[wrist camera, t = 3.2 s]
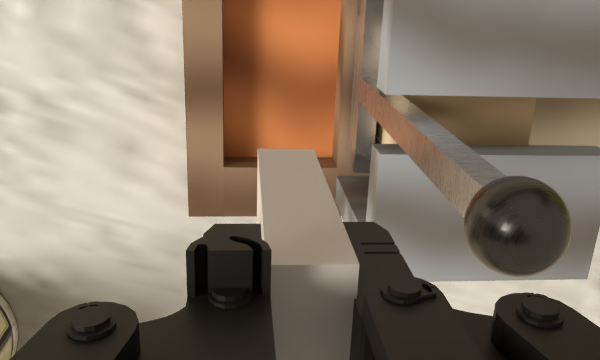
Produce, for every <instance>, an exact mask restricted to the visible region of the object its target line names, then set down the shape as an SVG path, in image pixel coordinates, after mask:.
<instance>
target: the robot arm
mask: <svg viewBox="0 0 600 360" xmlns="http://www.w3.org/2000/svg"><path fill="white" fill-rule="evenodd" d="M186 268H187V303H186V307H184V308H183V309H181V310H180V311H178V312H176V313H174V314H172V315H169V316H167V317H164V318H160V319H157V320H153V321H148V322H143V323H139V321H138V318H137V316H136V313H135V312H134V311H133V310H131V309H130V308H129V307H127V306H125V305H121V304H117V303H113V302H89V303H88V304H87V303H84V304H80V305H77V306H75V307H72V308H70V309H67V310H65V311H62V312H60V313H59V314H58V315H56V316H55V317H53V318H52V319H51V320H49V321H48V322H47V323H46V324H45V325H44V326H43V327H42V328H41V329H40V330H39V331H38V332H37V333H36V334H35V335H34V336H33V337H32V338H31V339H30V340H29V341H28V342H27V343H26V344H25V345H24V346H23V347H22V348H21V349H20V350H19V351H18V352H17V353H16V354H15V355H14V356H13V357H12V358H11V359H10V360H600V327H598V326H597V325H595V324H594V323H592V322H591V321H590V320H588V319H587V318H585V317H584V316H583V315H581V314H580V313H578V312H577V311H575V310H574V309H573V308H571V307H569V306H567V305H565V304H563V303H562V302H560V301H557V300H554V299H551V298H548V297H547V296H545V295H541V294H534V293H514V294H509V295H506V296H503V297H501V298H500V299H499V300H498V301H497V302H496V303H495V309H494V315H493V316H487V315H481V314H475V313H469V312H464V311H460V310H455V309H452V307H451V306H450V304H449V302H448V301H447V299H446V298H445V296H444V294H443V293H442V292H441V291H440V290H439V289H438V288H437V287H436V286H435V285H433V284H431V283H429V282H427V281H425V280H424V279H420V278H416V277H414V276H413V274H412V272H411V270H410V269H409V267H408V265H407V263H406V261H405V260H404V258H403V256H402V254H400V251H399V249H398V247H397V246H396V245H395V242H394V240H393V238H392V237H391V235H390V233H389V231H387V230H386V229H384V228H383V227H381V226H380V225H378V224H377V223H375V222H342V219H341V217H340V214H339V212H338V209H337V207H336V204H335V202H334V199H333V197H332V194H331V191H330V189H329V186H328V184H327V181H326V179H325V176H324V174H323V171H322V169H321V166H320V164H319V161H318V159H317V156H316V154H315V151H314V149H258V163H257V224H214V225H213V226H212V227H211V228H210V229H209V230H208V231H206V232H205V233H204V235H203V237H202V238H200V239H198V240H196V241H194V242H193V243H191V244H190V245H189V247H188V248H187V250H186Z"/></svg>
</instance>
